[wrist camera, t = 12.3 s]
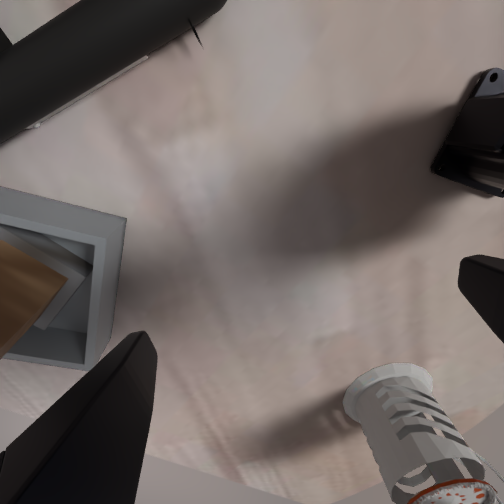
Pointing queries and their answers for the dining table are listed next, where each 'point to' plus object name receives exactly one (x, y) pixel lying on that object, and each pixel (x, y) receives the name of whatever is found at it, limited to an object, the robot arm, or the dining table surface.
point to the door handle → (85, 53)
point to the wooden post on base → (34, 281)
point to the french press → (415, 437)
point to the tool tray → (91, 290)
